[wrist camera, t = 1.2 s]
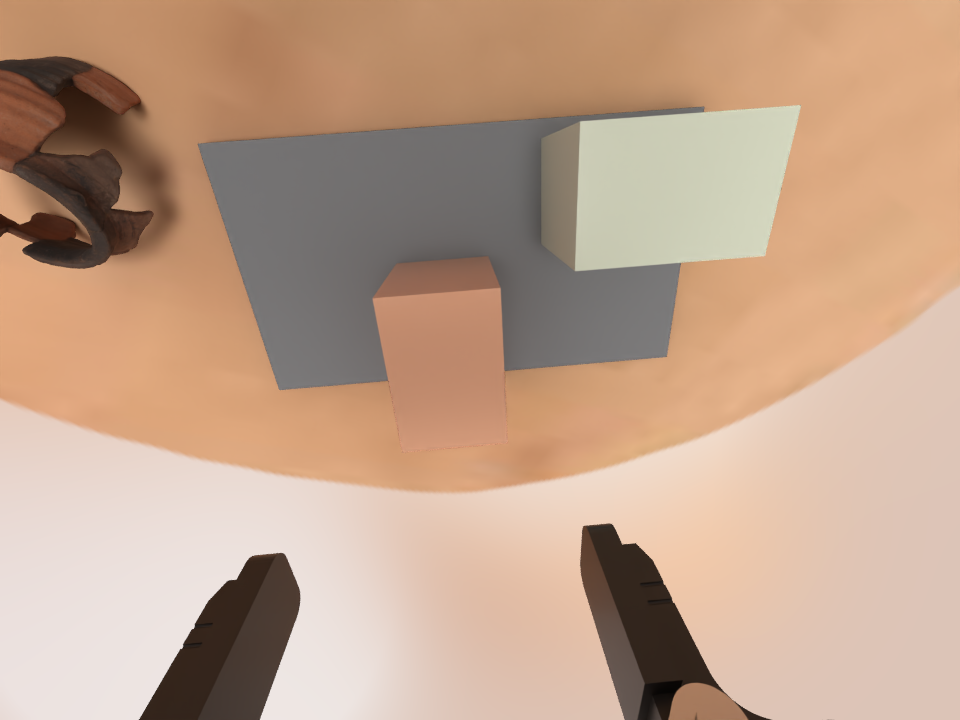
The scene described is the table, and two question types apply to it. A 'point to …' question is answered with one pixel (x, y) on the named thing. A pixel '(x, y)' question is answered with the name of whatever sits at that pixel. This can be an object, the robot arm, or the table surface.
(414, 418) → the upright salmon pillar
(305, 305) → the slate mat
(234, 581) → the robot arm
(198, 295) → the table surface
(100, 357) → the table surface
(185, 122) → the table surface
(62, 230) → the brown sculpted ring
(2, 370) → the table surface
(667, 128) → the pale green cuboid
